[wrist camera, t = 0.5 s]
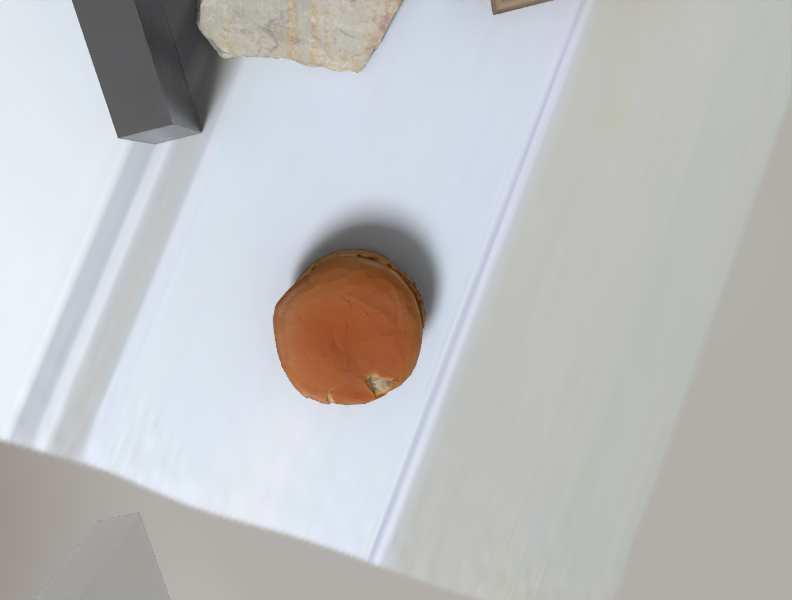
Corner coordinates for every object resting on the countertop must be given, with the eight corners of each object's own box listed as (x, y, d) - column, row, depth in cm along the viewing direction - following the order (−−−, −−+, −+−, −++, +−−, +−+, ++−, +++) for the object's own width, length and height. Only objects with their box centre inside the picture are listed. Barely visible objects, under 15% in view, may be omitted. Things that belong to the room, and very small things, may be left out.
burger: (339, 220, 36) (334, 227, 31) (450, 306, 37) (460, 324, 33) (251, 337, 37) (233, 359, 33) (361, 415, 39) (359, 446, 34)
